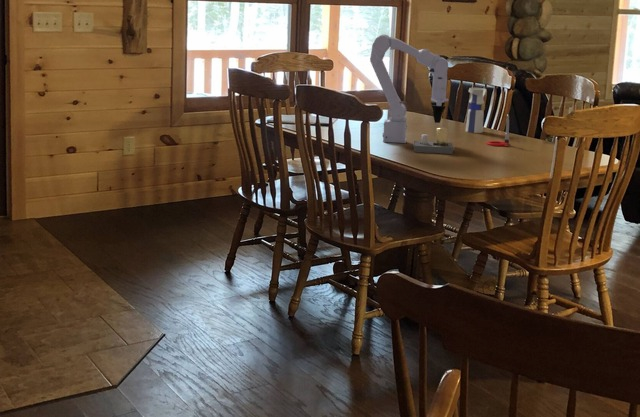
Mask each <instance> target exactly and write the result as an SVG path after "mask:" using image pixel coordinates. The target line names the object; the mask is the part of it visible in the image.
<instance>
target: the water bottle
mask: <svg viewBox="0 0 640 417" xmlns="http://www.w3.org/2000/svg"><path fill="white" fill-rule="evenodd" d="M481 81H482V85H487V81H488V79H486V76H484V77H483V79H481ZM468 93H470V98H469V99H468V100H469V101H468V104H469V106H468V109H467V113H466V114H467V116H466V123H465V124H466V125H465V132H466V133H470V134H471V133H473V134H482V133H483V132H484V130H483V129H484V115H485V114H484V113H485V112H484V111H485V109H486V103H485V101H484V97H486V96H487V93H488V92H487V89H486V88H482V87H469V89H468Z"/></svg>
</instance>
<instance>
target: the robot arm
mask: <svg viewBox="0 0 640 417" xmlns="http://www.w3.org/2000/svg"><path fill="white" fill-rule="evenodd" d="M388 50H391V51H393V50H399V51H401V52H403V53H405V54H408V55H410V56H412V57H413V58H415V59H416V62H417V63H419V64H421V65H423V66H425V67H428V68H429V69H433V76H432V87H431V97H430V101H431V102H430V104H431V108H432V115H433V120H434V121H433V122H434V123H435V124H436V123H437V124H438V123H439V124H440V123H441V121H442V118H443V113H444V111H445V109H446V106H445V102H449V98H446V97H447V85H448V70H449V61H447V60H448V59H446V58H444V57H443V56H440V55H439V54H435V53H433V52H431V51H430V49H429V48H422V49H417V48H415V47H414V46H412V45H410V44H408V43H406V42H404V41H402V40H401V39H398V38H396V37H394V36H390V35H388V34H381V35H379V36H377V37H376V38H375V39H374V42H373V43H372V46H371V52H370V53H371V54H370V58H369V61H370V64H371V67H372V68H373V71H374V73H375V75H376V76H375V77H377V80H378V82H379V84H380V87H381V89H382V92H383V93H384V96H385V98H386V100H387V105H388V107H389V110H390V116H391V117H390V118H389V120H387V119H384V120H383V121H384V122H383V132H382V138H383V139H382V142H383V143H401V144H406V143H407V138H406V133H407V121H408V120H407V118H406V114H407V110H408V109H407V107H406V105H405V103H403V102H402V100H401V98H400V97H399V95H398V93H397V90H396V88H395V86H394V84H393V81H392V79H391V76H390V74H389V72H388V70H387V67H386V64H385V63H384V61H383V59H384V57H385V55H386V52H387V51H388Z"/></svg>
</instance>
